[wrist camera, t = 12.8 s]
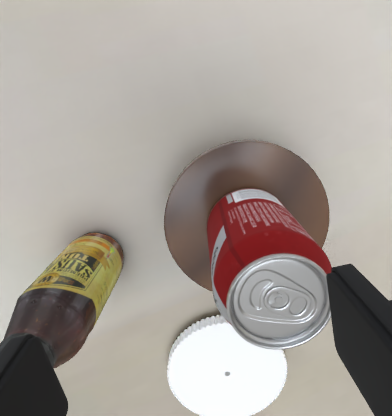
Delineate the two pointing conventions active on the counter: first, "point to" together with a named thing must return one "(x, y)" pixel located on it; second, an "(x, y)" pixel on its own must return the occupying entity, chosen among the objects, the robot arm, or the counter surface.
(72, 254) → the sauce bottle
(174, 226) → the stand
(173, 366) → the plastic lid
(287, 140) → the counter surface
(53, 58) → the counter surface
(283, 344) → the soda can
